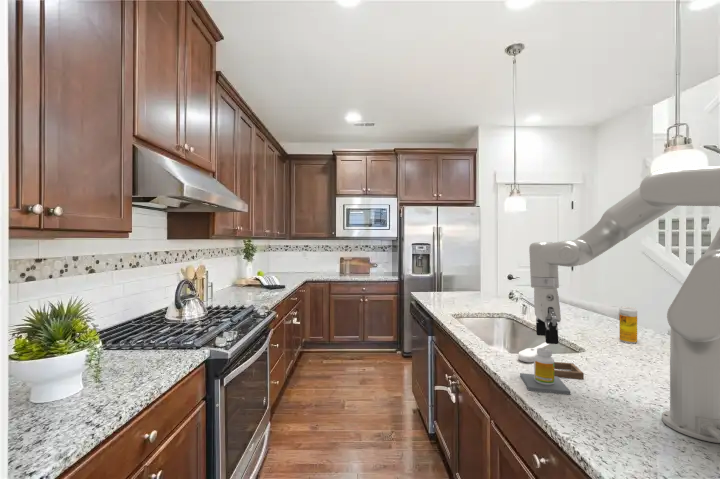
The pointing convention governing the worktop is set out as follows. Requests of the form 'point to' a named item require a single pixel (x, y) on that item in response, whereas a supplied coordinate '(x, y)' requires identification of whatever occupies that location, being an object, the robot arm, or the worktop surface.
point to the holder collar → (572, 374)
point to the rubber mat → (535, 386)
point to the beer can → (628, 324)
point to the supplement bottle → (544, 367)
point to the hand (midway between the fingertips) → (546, 339)
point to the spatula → (530, 353)
